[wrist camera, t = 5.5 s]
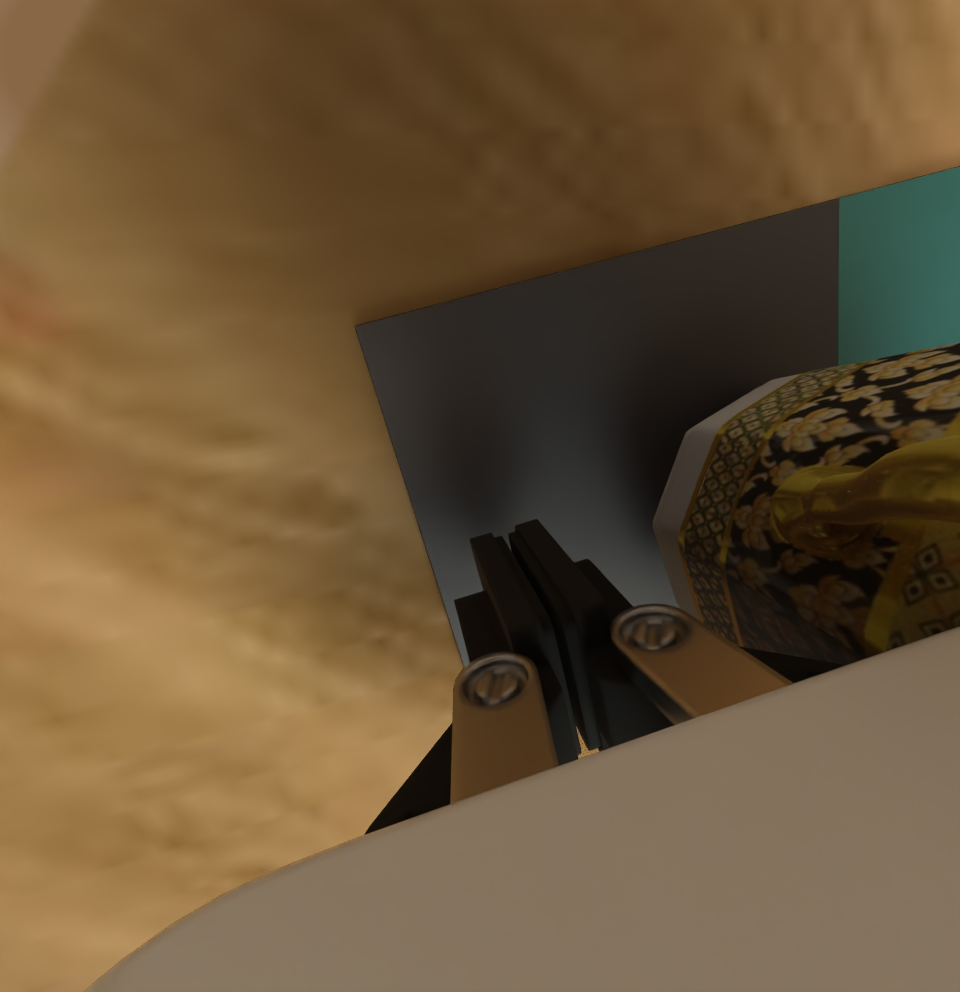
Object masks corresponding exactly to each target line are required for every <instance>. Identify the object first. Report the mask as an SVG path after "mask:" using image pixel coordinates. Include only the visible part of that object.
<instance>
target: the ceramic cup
mask: <svg viewBox="0 0 960 992" xmlns="http://www.w3.org/2000/svg"><path fill="white" fill-rule="evenodd" d="M653 529H654V533H655V536H656V540H657V543H658V546H659V549H660V552H661V555H662V559H663V562H664V565H665V568H666V571H667V574H668V577H669V580H670V584H671V587H672V590H673V593H674V596H675V599H676V602H677V604H678V605H679V607H680V608H681V610H684V611H686V612H688V613H689V614H691V615H692V616H694V617H695V618H697V619H698V620H700V621H701V622H703V623H704V624H706V625H707V626H709V627H710V628H712V629H713V630H715V631H716V632H718V633H719V634H721V635H722V636H724V637H725V638H727V639H728V640H730V641H731V642H733V643H734V644H736V645H737V646H740V647H746V648H751V649H757V650H763V651H769V652H774V653H780V654H786V655H791V656H797V657H803V658H809V659H814V660H820V661H826V662H832V663H837V664H841V665H848V664H851V663H854V662H857V661H860V660H863V659H866V658H869V657H872V656H875V655H877V654H880V653H883V652H886V651H889V650H892V649H895V648H898V647H901V646H904V645H906V644H909V643H912V642H915V641H918V640H921V639H924V638H927V637H930V636H933V635H936V634H938V633H941V632H944V631H947V630H950V629H954V628H957V627H960V342H958V343H953V344H948V345H943V346H938V347H933V348H929V349H924V350H919V351H914V352H909V353H904V354H899V355H894V356H889V357H884V358H879V359H874V360H869V361H864V362H858V363H852V364H847V365H841V366H835V367H830V368H824V369H818V370H813V371H810V372H807V373H802V374H797V375H793V376H788V377H783V378H778V379H774V380H771V381H769V382H767V383H765V384H764V385H762V386H760V387H758V388H756V389H754V390H753V391H751V392H749V393H748V394H746V395H744V396H743V397H741V398H739V399H738V400H736V401H734V402H733V403H731V404H730V405H728V406H726V407H725V408H723V409H721V410H720V411H718V412H716V413H715V414H713V415H712V416H710V417H708V418H707V419H705V420H703V421H702V422H700V423H699V424H697V425H695V426H694V427H692V428H691V429H689V430H688V431H687V432H686V434H685V435H684V438H683V441H682V443H681V446H680V449H679V451H678V454H677V457H676V459H675V462H674V465H673V468H672V470H671V473H670V476H669V478H668V481H667V484H666V486H665V489H664V492H663V495H662V497H661V500H660V503H659V505H658V508H657V511H656V513H655V516H654V519H653Z"/></svg>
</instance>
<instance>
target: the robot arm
mask: <svg viewBox="0 0 960 992" xmlns="http://www.w3.org/2000/svg"><path fill="white" fill-rule="evenodd" d="M508 538H509V543H510V547H511V550H510V548H509V547H508V545H507V543H506V541H505V540H504V538H503V536H498V537H495V538H494V536H493V534H492V532H491V533H487V534H484V535H481V536H477V537H474V538H471V539H470V544H471V548H472V551H473V555H474V559H475V562H476V566H477V570H478V573H479V577H480V581H481V584H482V588H483V591H481V592H478V593H475V594H471V595H468V596H465V597H462V598H459V599H455V600H454V603H455V607H456V611H457V615H458V619H459V623H460V626H461V630H462V634H463V638H464V642H465V646H466V650H467V654H468V658H469V661H470V663H469V664H468V665H467V666H466V667H465V668H464V669H462V670H461V672H460V673H459V675H458V677H457V678H456V680H455V684H454V688H453V720H452V724H451V725H450V726H449V727H448V729H447V730H446V731H445V732H444V734H443V735H442V736H441V737H440V739H439V740H438V741H437V742H436V744H435V745H434V746H433V747H432V749H431V750H430V751H429V753H428V754H427V755H426V756H425V758H424V759H423V760H422V761H421V763H420V764H419V765H418V766H417V768H416V769H415V770H414V771H413V773H412V774H411V775H410V776H409V778H408V779H407V780H406V781H405V783H404V784H403V785H402V786H401V788H400V789H399V790H398V791H397V793H396V794H395V795H394V796H393V798H392V799H391V800H390V802H389V803H388V804H387V805H386V807H385V808H384V809H383V810H382V812H381V813H380V814H379V815H378V817H377V818H376V819H375V820H374V822H373V823H372V824H371V825H370V827H369V828H368V830H367V831H366V833H365V834H364V835H363V836H360V837H357V838H355V839H352V840H349V841H347V842H344V843H342V844H339V845H337V846H334V847H332V848H329V849H327V850H324V851H321V852H319V853H316V854H314V855H311V856H309V857H306V858H304V859H301V860H299V861H296V862H293V863H291V864H288V865H286V866H283V867H281V868H278V869H276V870H273V871H271V872H268V873H266V874H264V875H262V876H259V877H257V878H255V879H253V880H251V881H249V882H247V883H245V884H243V885H241V886H239V887H236V888H234V889H232V890H230V891H228V892H226V893H224V894H222V895H220V896H218V897H216V898H215V899H213V900H211V901H210V902H208V903H206V904H205V905H203V906H201V907H199V908H198V909H196V910H194V911H193V912H191V913H189V914H187V915H186V916H184V917H182V918H181V919H179V920H177V921H175V922H174V923H172V924H171V925H169V926H168V927H167V928H165V929H164V930H162V931H161V932H160V933H158V934H157V935H155V936H154V937H153V938H151V939H150V940H148V941H147V942H146V943H144V944H143V945H141V946H140V947H139V948H137V949H136V950H134V951H133V952H132V953H130V954H129V955H127V956H126V957H125V958H123V959H122V960H121V961H119V962H118V963H117V964H116V965H115V966H113V967H112V968H111V969H110V970H108V971H107V972H106V973H105V974H104V975H102V976H101V977H100V978H99V979H97V980H96V981H95V982H94V983H93V984H92V985H91V986H90V987H88V988H87V989H86V990H85V991H84V992H960V627H957V628H954V629H950V630H947V631H944V632H941V633H938V634H936V635H933V636H930V637H927V638H924V639H921V640H918V641H915V642H912V643H909V644H906V645H904V646H901V647H898V648H895V649H892V650H889V651H886V652H883V653H880V654H877V655H875V656H872V657H869V658H866V659H863V660H860V661H857V662H854V663H851V664H848V665H841V664H837V663H832V662H826V661H820V660H814V659H809V658H803V657H797V656H791V655H786V654H780V653H774V652H769V651H763V650H757V649H751V648H746V647H740V646H737V645H736V644H734V643H733V642H731V641H730V640H728V639H727V638H725V637H724V636H722V635H721V634H719V633H718V632H716V631H715V630H713V629H712V628H710V627H709V626H707V625H706V624H704V623H703V622H701V621H700V620H698V619H697V618H695V617H694V616H692V615H691V614H689V613H688V612H686V611H684V610H681V609H679V608H677V607H674V606H670V605H666V604H645V605H638V606H635V607H633V606H632V605H631V604H630V602H629V601H628V600H627V599H626V598H625V597H624V596H623V595H622V594H621V593H620V592H619V591H618V590H617V588H616V587H615V586H614V585H613V584H612V583H611V582H610V581H609V580H608V579H607V578H606V577H605V575H604V574H603V573H602V572H601V571H600V570H599V569H598V568H597V567H596V566H595V565H594V564H593V562H592V561H590V560H589V559H584V560H581V561H577V562H573V561H572V559H571V558H570V557H569V556H568V555H567V553H566V552H565V551H564V550H563V549H562V548H561V546H560V545H559V544H558V543H557V542H556V540H555V539H554V538H553V537H552V536H551V534H550V533H549V532H548V531H547V530H546V529H545V527H544V526H543V525H542V524H541V523H540V521H539V520H538V519H534V520H531V521H527V522H524V523H521V524H517V525H515V532H512V533H508ZM511 551H512V552H511ZM575 724H576V725H575ZM576 726H577V728H578V730H579V732H580V734H581V736H582V738H583V741H584V743H585V745H586V747H587V748H588V750H589V751H590V750H593V749H596V748H598V749H599V751H600V752H597V753H594V754H591V755H588V756H585V757H583V758H580V759H578V755H579V754H581V747H580V743H579V738H578V734H577V729H576Z"/></svg>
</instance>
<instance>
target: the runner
mask: <svg viewBox="0 0 960 992" xmlns="http://www.w3.org/2000/svg"><path fill="white" fill-rule="evenodd" d="M355 330H356V333H357V336H358V339H359V342H360V345H361V348H362V351H363V355H364V358H365V361H366V364H367V367H368V370H369V373H370V376H371V379H372V383H373V386H374V389H375V392H376V395H377V398H378V401H379V404H380V407H381V411H382V414H383V417H384V420H385V423H386V426H387V429H388V432H389V435H390V439H391V442H392V445H393V448H394V451H395V454H396V457H397V460H398V463H399V466H400V470H401V473H402V476H403V479H404V482H405V485H406V488H407V491H408V494H409V498H410V501H411V504H412V507H413V510H414V513H415V516H416V519H417V522H418V526H419V529H420V532H421V535H422V538H423V541H424V544H425V547H426V550H427V554H428V557H429V560H430V563H431V566H432V569H433V572H434V575H435V578H436V582H437V585H438V588H439V591H440V594H441V597H442V600H443V603H444V606H445V609H446V613H447V616H448V619H449V622H450V625H451V628H452V631H453V634H454V637H455V641H456V644H457V647H458V650H459V653H460V656H461V659H462V662H463V665H464V668H465V667H466V666H467V665H468V664H469V663H470V661H469V658H468V654H467V650H466V646H465V642H464V638H463V634H462V630H461V626H460V623H459V619H458V615H457V611H456V607H455V603H454V600H455V599H459V598H462V597H465V596H468V595H471V594H475V593H478V592H481V591H483V588H482V584H481V581H480V577H479V573H478V570H477V566H476V562H475V559H474V555H473V551H472V548H471V544H470V539H471V538H474V537H477V536H481V535H484V534H487V533H491V532H492V534H493V536H494V538H495V537H498V536H503V538H504V540H505V541H506V543H507V545H508V547H509V548H510V550H511V547H510V543H509V538H508V533H512V532H515V525H517V524H521V523H524V522H527V521H531V520H534V519H538V520H539V521H540V523H541V524H542V525H543V526H544V527H545V529H546V530H547V531H548V532H549V533H550V534H551V536H552V537H553V538H554V539H555V540H556V542H557V543H558V544H559V545H560V546H561V548H562V549H563V550H564V551H565V552H566V553H567V555H568V556H569V557H570V558H571V559H572V561H573V562H577V561H581V560H584V559H589V560H590V561H592V562H593V564H594V565H595V566H596V567H597V568H598V569H599V570H600V571H601V572H602V573H603V574H604V575H605V577H606V578H607V579H608V580H609V581H610V582H611V583H612V584H613V585H614V586H615V587H616V588H617V590H618V591H619V592H620V593H621V594H622V595H623V596H624V597H625V598H626V599H627V600H628V601H629V602H630V604H631V605H632V606H633V607H635V606H638V605H645V604H666V605H670V606H674V607H677V608H679V609H681V608H680V607H679V605H678V604H677V602H676V599H675V596H674V593H673V590H672V587H671V584H670V580H669V577H668V574H667V571H666V568H665V565H664V562H663V559H662V555H661V552H660V549H659V546H658V543H657V540H656V536H655V533H654V529H653V519H654V516H655V513H656V511H657V508H658V505H659V503H660V500H661V497H662V495H663V492H664V489H665V486H666V484H667V481H668V478H669V476H670V473H671V470H672V468H673V465H674V462H675V459H676V457H677V454H678V451H679V449H680V446H681V443H682V441H683V438H684V435H685V434H686V432H687V431H688V430H689V429H691V428H692V427H694V426H695V425H697V424H699V423H700V422H702V421H703V420H705V419H707V418H708V417H710V416H712V415H713V414H715V413H716V412H718V411H720V410H721V409H723V408H725V407H726V406H728V405H730V404H731V403H733V402H734V401H736V400H738V399H739V398H741V397H743V396H744V395H746V394H748V393H749V392H751V391H753V390H754V389H756V388H758V387H760V386H762V385H764V384H765V383H767V382H769V381H771V380H774V379H778V378H783V377H788V376H793V375H797V374H802V373H807V372H810V371H813V370H818V369H824V368H830V367H835V366H841V365H847V364H852V363H858V362H864V361H869V360H874V359H879V358H884V357H889V356H894V355H899V354H904V353H909V352H914V351H919V350H924V349H929V348H933V347H938V346H943V345H948V344H953V343H958V342H960V166H959V167H955V168H951V169H948V170H944V171H940V172H936V173H933V174H929V175H925V176H921V177H917V178H914V179H910V180H906V181H902V182H898V183H895V184H891V185H887V186H883V187H879V188H876V189H872V190H868V191H864V192H861V193H857V194H853V195H849V196H845V197H842V198H838V199H834V200H830V201H826V202H823V203H819V204H815V205H811V206H807V207H804V208H800V209H796V210H792V211H789V212H785V213H781V214H777V215H773V216H770V217H766V218H762V219H758V220H754V221H751V222H747V223H743V224H739V225H735V226H732V227H728V228H724V229H720V230H717V231H713V232H709V233H705V234H701V235H698V236H694V237H690V238H686V239H682V240H679V241H675V242H671V243H667V244H664V245H660V246H656V247H652V248H648V249H645V250H641V251H637V252H633V253H629V254H626V255H622V256H618V257H614V258H610V259H607V260H603V261H599V262H595V263H592V264H588V265H584V266H580V267H576V268H573V269H569V270H565V271H561V272H557V273H554V274H550V275H546V276H542V277H538V278H535V279H531V280H527V281H523V282H520V283H516V284H512V285H508V286H504V287H501V288H497V289H493V290H489V291H485V292H482V293H478V294H474V295H470V296H467V297H463V298H459V299H455V300H451V301H448V302H444V303H440V304H436V305H432V306H429V307H425V308H421V309H417V310H413V311H410V312H406V313H402V314H398V315H395V316H391V317H387V318H383V319H379V320H376V321H372V322H368V323H364V324H360V325H357V326H355ZM511 552H512V551H511Z"/></svg>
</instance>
